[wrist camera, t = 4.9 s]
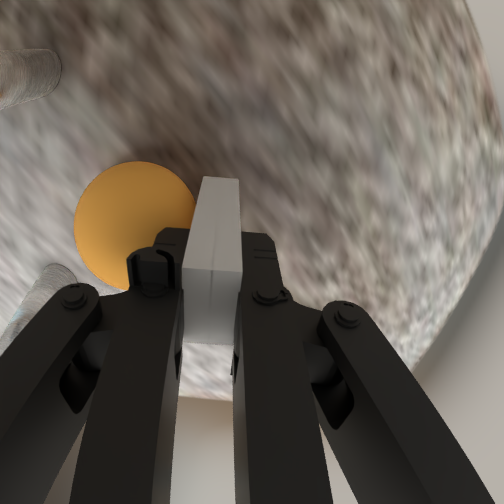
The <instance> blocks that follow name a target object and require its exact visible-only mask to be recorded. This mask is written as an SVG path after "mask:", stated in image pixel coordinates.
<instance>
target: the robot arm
mask: <svg viewBox="0 0 504 504" xmlns="http://www.w3.org/2000/svg"><path fill="white" fill-rule="evenodd" d="M126 263H127V271H128V279H129V288H128V290H127V291H125V292H122V293H119V294H114V295H106V296H99V293H98V292H97V290H96V289H95V287H93V286H91V285H89V284H85V283H74V284H69V285H67V286H64V287H62V288H61V289H59V290H58V291H57V292H56V293H55V294H54V295H53V296H52V297H51V298H50V299H49V300H48V301H47V302H46V303H45V305H44V306H43V307H42V308H41V309H40V310H39V311H38V312H37V313H36V315H35V316H34V317H33V318H32V319H31V320H30V321H29V322H28V324H27V325H26V326H25V327H24V328H23V329H22V331H21V332H20V333H19V334H18V335H17V336H16V338H15V339H14V340H13V341H12V342H11V344H10V345H9V346H8V347H7V348H6V350H5V351H4V352H3V353H2V355H1V356H0V504H43V503H44V501H45V499H46V497H47V495H48V493H49V491H50V489H51V487H52V485H53V483H54V481H55V479H56V477H57V475H58V473H59V471H60V469H61V467H62V465H63V463H64V461H65V459H66V457H67V455H68V453H69V452H70V450H71V448H72V446H73V444H74V442H75V440H76V438H77V437H78V435H79V433H80V431H81V429H82V427H83V426H84V424H85V422H86V425H85V429H84V433H83V437H82V442H81V446H80V450H79V455H78V459H77V464H76V469H75V475H74V479H73V484H72V491H71V496H70V502H69V504H170V489H171V473H172V459H173V446H174V434H175V423H176V412H177V402H178V392H179V383H180V374H181V365H182V341H183V342H188V343H201V344H215V345H232V346H233V343H234V351H233V359H232V367H231V374H230V375H233V428H234V429H233V430H234V470H235V500H236V504H333V499H332V493H331V488H330V481H329V476H328V470H327V464H326V459H325V453H324V448H323V443H322V437H321V432H320V427H319V424H320V426H321V428H322V430H323V432H324V434H325V436H326V438H327V440H328V442H329V444H330V446H331V449H332V450H333V453H334V455H335V456H336V459H337V461H338V463H339V465H340V467H341V469H342V471H343V473H344V475H345V477H346V479H347V481H348V483H349V485H350V487H351V489H352V492H353V493H354V496H355V497H356V500H357V502H358V504H495V502H494V501H493V499H492V497H491V496H490V494H489V492H488V490H487V489H486V487H485V485H484V484H483V482H482V480H481V479H480V477H479V475H478V474H477V472H476V470H475V469H474V467H473V465H472V464H471V462H470V461H469V459H468V458H467V456H466V454H465V453H464V451H463V450H462V448H461V446H460V445H459V443H458V442H457V440H456V439H455V437H454V436H453V434H452V432H451V431H450V429H449V428H448V426H447V425H446V423H445V422H444V420H443V419H442V417H441V416H440V414H439V413H438V411H437V410H436V408H435V407H434V405H433V404H432V402H431V401H430V399H429V398H428V396H427V395H426V394H425V392H424V391H423V389H422V388H421V386H420V385H419V384H418V382H417V381H416V379H415V378H414V376H413V375H412V373H411V372H410V371H409V369H408V368H407V366H406V365H405V364H404V362H403V361H402V359H401V358H400V357H399V355H398V354H397V352H396V351H395V350H394V348H393V347H392V346H391V344H390V343H389V341H388V340H387V339H386V337H385V336H384V335H383V333H382V332H381V331H380V329H379V328H378V326H377V325H376V324H375V322H374V321H373V320H372V318H371V317H370V316H369V314H368V313H367V312H366V311H365V310H364V309H363V308H361V307H360V306H358V305H356V304H354V303H351V302H347V301H333V302H330V303H328V304H327V305H326V306H325V307H324V308H323V311H320V310H316V309H313V308H309V307H306V306H303V305H300V304H299V303H297V302H295V301H294V300H293V297H292V295H291V293H290V291H289V290H287V289H286V288H285V287H284V286H283V282H282V277H281V272H280V268H279V263H278V260H277V253H276V248H275V244H274V241H273V240H272V239H271V238H270V237H269V236H268V235H267V234H264V233H252V232H241V224H240V200H239V179H234V178H222V177H209V176H203V180H202V184H201V188H200V192H199V196H198V200H197V204H196V208H195V212H194V216H193V220H192V225H191V229H186V228H172V227H165V228H164V229H163V230H162V231H160V232H159V233H158V234H157V236H156V238H155V241H154V244H153V246H152V247H145V248H141V249H138V250H136V251H134V252H132V253H131V254H130V255H129V256H128V257H127V259H126ZM86 420H87V421H86Z"/></svg>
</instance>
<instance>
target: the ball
mask: <svg viewBox="0 0 504 504" xmlns="http://www.w3.org/2000/svg"><path fill="white" fill-rule="evenodd" d="M195 208H196V203H195V200H194V198H193V196H192V194H191V192H190V191H189V189H188V188H187V186H186V185H185V183H184V182H183V181H182V180H181V179H180V178H179V177H178V176H177V175H175V174H174V173H173V172H171V171H170V170H168V169H166V168H164V167H162V166H160V165H157V164H153V163H150V162H141V161H132V162H126V163H121V164H118V165H115V166H113V167H111V168H109V169H107V170H105V171H104V172H102V173H101V174H99V175H98V176H97V177H96V178H95V179H94V180H93V181H92V182H91V183H90V184H89V185H88V187H87V188H86V189H85V191H84V192H83V194H82V196H81V198H80V200H79V203H78V205H77V208H76V212H75V218H74V236H75V242H76V245H77V249H78V252H79V254H80V256H81V258H82V260H83V261H84V263H85V264H86V266H87V267H88V268H89V270H90V271H91V272H92V273H93V274H94V275H95V276H96V277H98V278H99V279H101V280H102V281H103V282H105V283H107V284H109V285H111V286H113V287H116V288H119V289H123V290H128V288H129V279H128V271H127V263H126V259H127V257H128V256H129V255H130V254H131V253H132V252H134V251H136V250H138V249H141V248H145V247H152V246H153V244H154V241H155V238H156V236H157V234H158V233H159V232H160V231H162V230H163V229H164V228H165V227H172V228H186V229H191V225H192V220H193V216H194V212H195Z"/></svg>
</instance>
